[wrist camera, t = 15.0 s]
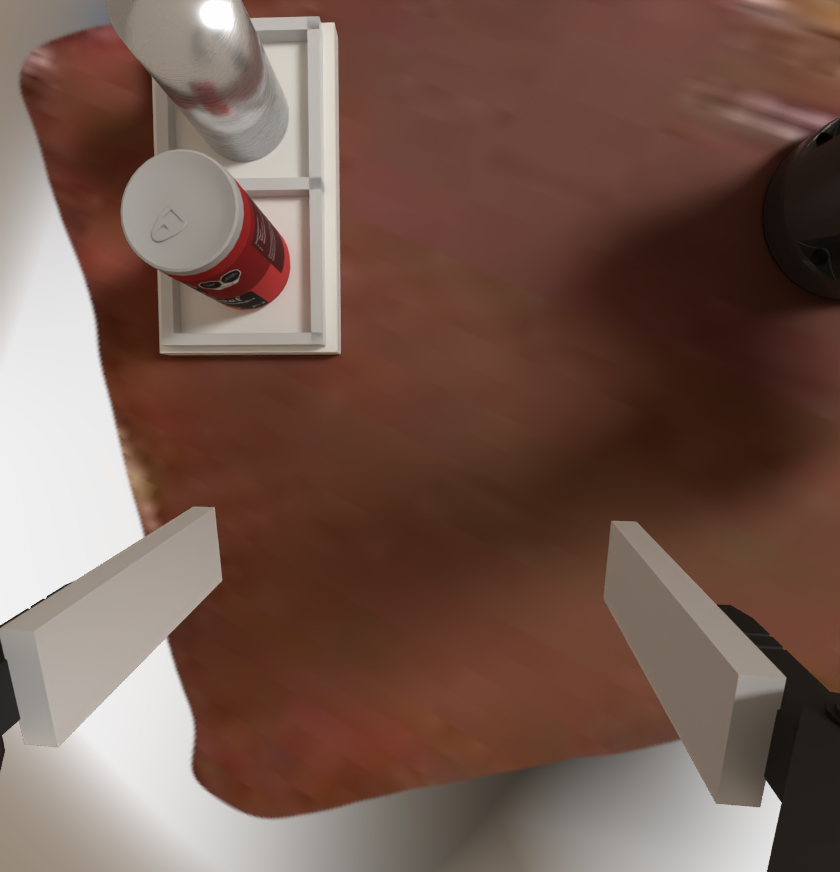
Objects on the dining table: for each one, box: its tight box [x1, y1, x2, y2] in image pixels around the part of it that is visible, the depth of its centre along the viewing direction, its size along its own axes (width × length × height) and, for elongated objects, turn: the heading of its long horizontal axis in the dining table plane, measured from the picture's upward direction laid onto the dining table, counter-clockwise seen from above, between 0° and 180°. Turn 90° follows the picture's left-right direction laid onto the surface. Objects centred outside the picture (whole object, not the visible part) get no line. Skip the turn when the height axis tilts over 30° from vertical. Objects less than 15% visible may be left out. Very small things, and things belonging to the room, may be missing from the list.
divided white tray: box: [152, 16, 341, 355], centre depth 39 cm, size 16×28×3 cm, turn 0°
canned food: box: [121, 149, 290, 310], centre depth 34 cm, size 8×8×11 cm
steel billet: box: [106, 0, 289, 162], centre depth 33 cm, size 8×8×11 cm
